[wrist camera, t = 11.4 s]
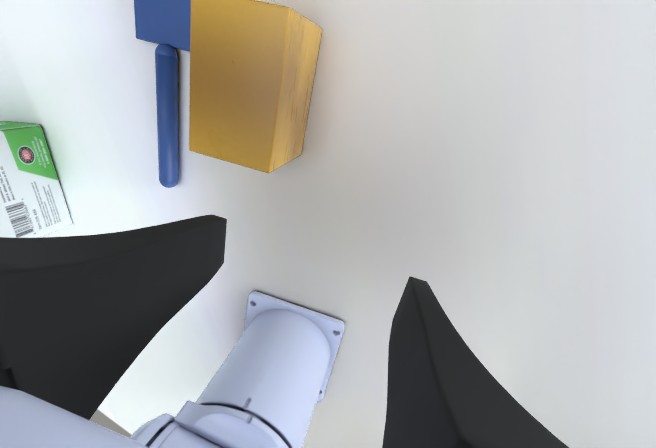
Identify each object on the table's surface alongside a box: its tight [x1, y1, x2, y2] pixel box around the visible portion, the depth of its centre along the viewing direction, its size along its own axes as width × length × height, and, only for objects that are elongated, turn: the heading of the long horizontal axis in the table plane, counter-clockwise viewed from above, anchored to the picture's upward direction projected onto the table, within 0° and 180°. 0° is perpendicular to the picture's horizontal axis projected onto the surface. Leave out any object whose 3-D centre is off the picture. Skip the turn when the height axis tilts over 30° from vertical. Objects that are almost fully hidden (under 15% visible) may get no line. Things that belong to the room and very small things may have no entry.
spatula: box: [134, 0, 191, 188], centre depth 20 cm, size 15×4×1 cm, turn 168°
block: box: [189, 0, 322, 173], centre depth 17 cm, size 7×4×5 cm, turn 168°
